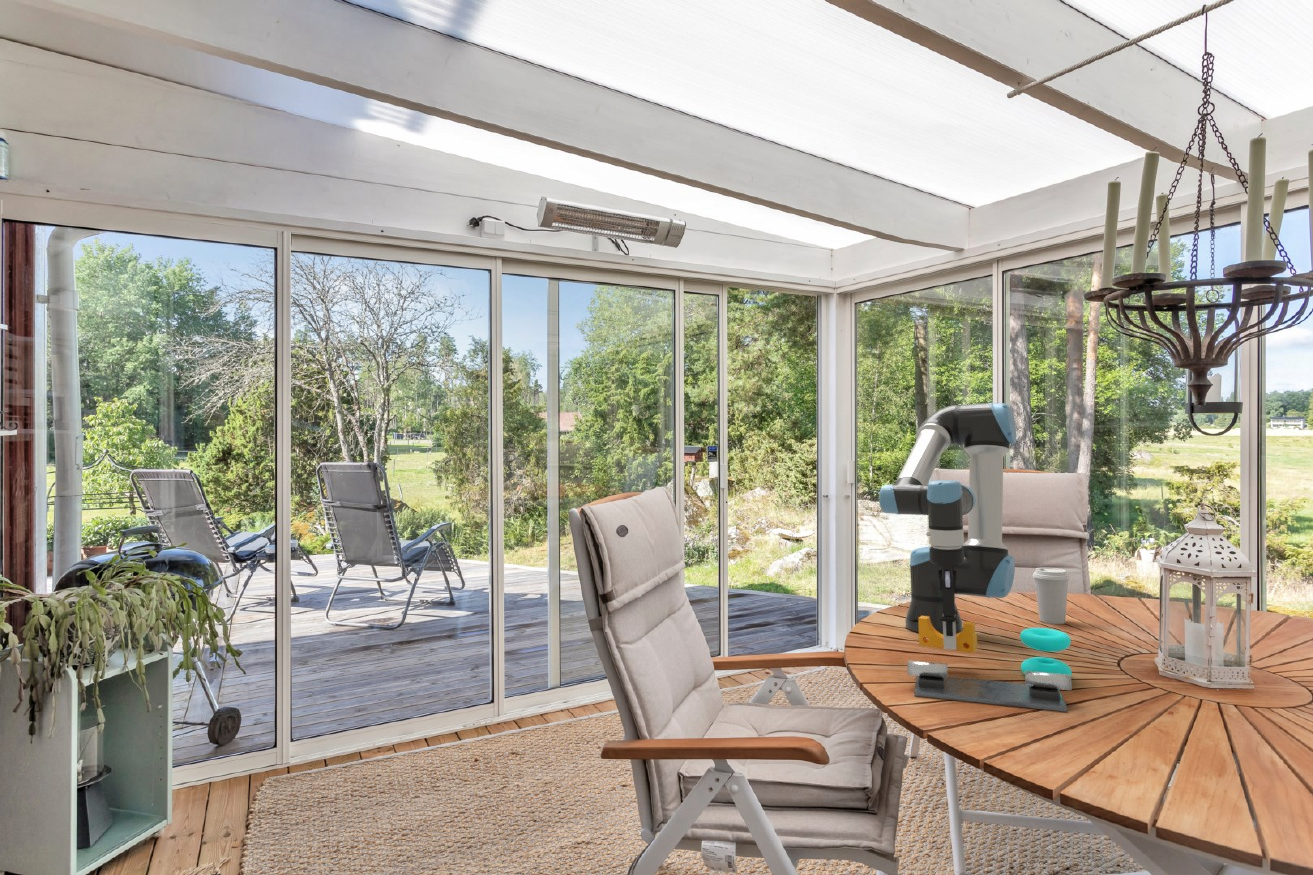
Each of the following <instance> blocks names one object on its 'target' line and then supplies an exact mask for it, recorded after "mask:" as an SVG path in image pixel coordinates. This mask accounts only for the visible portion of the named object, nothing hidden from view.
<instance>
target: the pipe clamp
mask: <svg viewBox="0 0 1313 875" xmlns="http://www.w3.org/2000/svg"><path fill="white" fill-rule="evenodd" d="M918 622H919V632H918V643H919V644H918V645H919V646H921V647H929V648H937V649H944V641H943V634H941V633H939V632H938V631H937V630H936V629H935V628H934V627H933V626H932V624H931V621H930V617H929V616H920V617H919V618H918ZM977 649H978V634H977V633H976V622H975V621H971V620H970V621H969V620H966V621H965V622H963V623H962V632H960V633H956V650H955V651H957V652H964V653H972V654H974V653H975V652H976V650H977ZM944 650H945V649H944ZM948 650H951V649H948ZM951 651H952V650H951Z"/></svg>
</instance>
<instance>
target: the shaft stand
mask: <svg viewBox="0 0 1313 875" xmlns="http://www.w3.org/2000/svg"><path fill="white" fill-rule="evenodd" d="M908 675H909V676H915V682H914V683H915V684H914V697H923V698H932V699H939V700H940V699H942V700H949V701H950V700H951V701H958V702H959V701H961V702H970V703H978V704H990V705H999V706H1006V707H1015V708H1016V707H1018V708H1025V709H1032V710H1033V709H1035V710H1036V709H1037V710H1044V711H1045V710H1046V711H1052V710H1053V711H1054V712H1063V713H1067V712H1068V706H1067V704H1066V701H1065V699H1064V697H1063V695H1062V693H1061V691H1060V690H1064V691H1072V675H1071V676H1070V675H1067V674H1056V673H1045V672H1033V671H1025V674H1024V678H1025V679H1024V680H1025V683H1019V682H1011V681H1010V682H1009V681H1000V680H989V679H978V678H966V677H956V676H948V663H939V662H930V661H920V660H910V659H909V660H907V676H908ZM1053 711H1052V712H1053Z"/></svg>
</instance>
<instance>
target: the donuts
mask: <svg viewBox="0 0 1313 875" xmlns="http://www.w3.org/2000/svg"><path fill="white" fill-rule="evenodd" d="M1019 638H1020V640H1021V643H1023V644H1024V645H1025V646H1027V647H1028V648H1030V649H1034V650H1037V651H1041V652H1061V651H1065V650H1066V649H1068V648H1070V645H1071V642H1072V640H1071V637H1070V636H1069V634H1067V633H1066V632H1063V631H1060V630H1057V629H1053V628H1046V627H1030V628H1026V629H1023V630H1022V631H1020V634H1019ZM1020 670H1021V672H1022V674H1024V675H1025V671H1033V672H1045V673H1056V674H1067V675H1070V676H1071V677H1072V674H1073V671H1072V668H1071V667H1070V666H1069V665H1068V664H1067V663H1065V662H1063V661H1061V660H1058V659H1056V658H1053V657H1052V658H1051V657H1045V656H1035V657H1029V658H1026V659H1024V660H1023V661H1022V663H1021V665H1020Z"/></svg>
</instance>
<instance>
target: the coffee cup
mask: <svg viewBox="0 0 1313 875" xmlns="http://www.w3.org/2000/svg"><path fill="white" fill-rule="evenodd" d="M1032 577H1033V578H1034V584H1035V585H1034V586H1035V592H1036V600H1037V610H1038V617H1039V621H1040V622H1041V621H1042V622H1041V623H1044V622H1045V623H1044V624H1049V625H1063V624H1066V618H1067V617H1066V614H1067V602H1068V587H1069V580H1070V579H1071V577H1070V574H1068V572H1067V569H1063V568H1057V567H1036V568H1035V571H1034V572H1033V573H1032Z"/></svg>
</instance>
